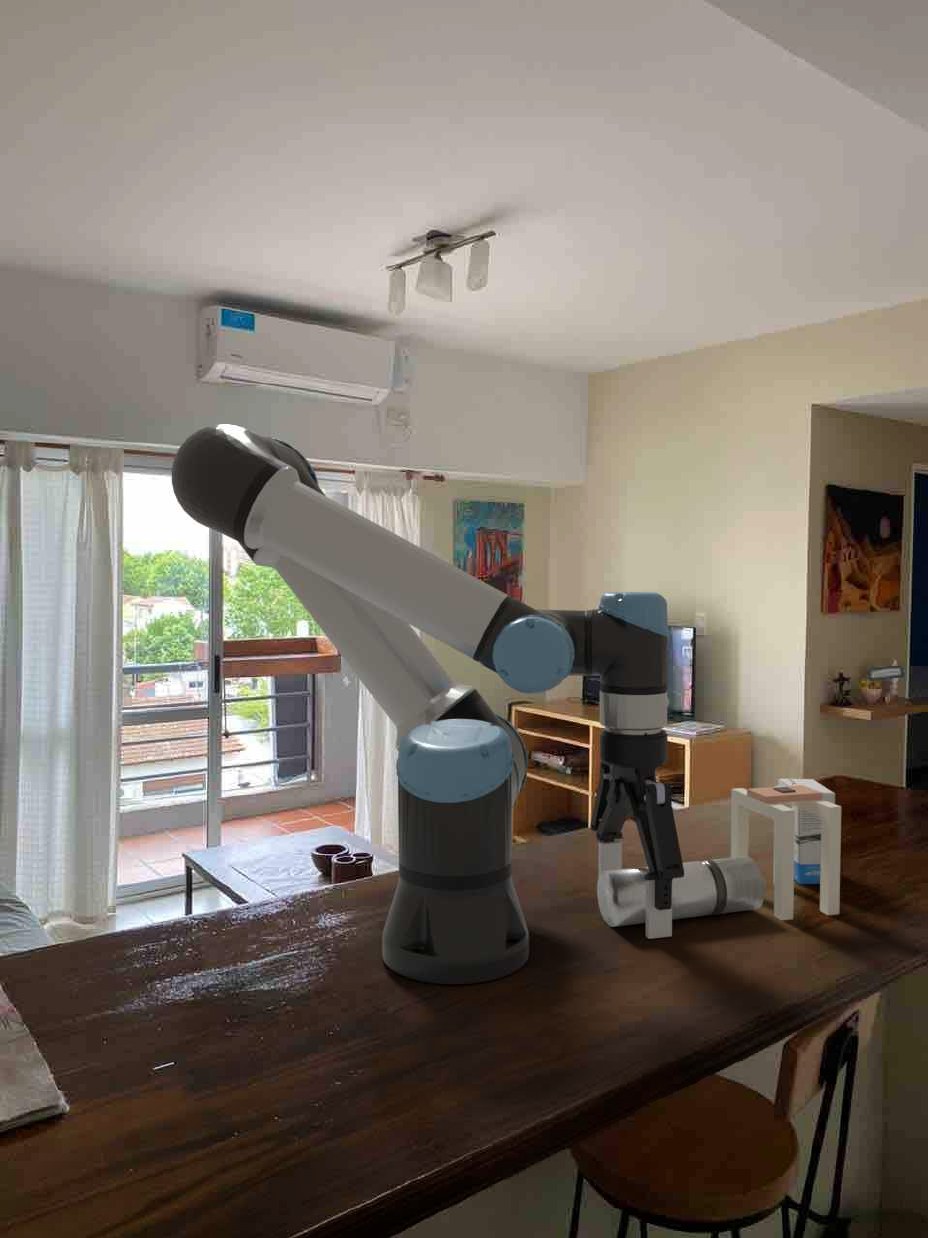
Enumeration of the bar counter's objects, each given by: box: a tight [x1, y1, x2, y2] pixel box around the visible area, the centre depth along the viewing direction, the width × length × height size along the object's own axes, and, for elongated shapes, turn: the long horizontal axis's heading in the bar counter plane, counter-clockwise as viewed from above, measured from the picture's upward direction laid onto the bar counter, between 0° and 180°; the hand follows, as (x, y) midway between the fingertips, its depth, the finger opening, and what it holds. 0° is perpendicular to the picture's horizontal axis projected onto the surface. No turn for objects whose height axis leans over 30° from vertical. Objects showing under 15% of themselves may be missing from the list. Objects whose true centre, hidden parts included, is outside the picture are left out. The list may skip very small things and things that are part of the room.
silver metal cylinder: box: [596, 855, 766, 928], centre depth 107 cm, size 18×6×6 cm, turn 106°
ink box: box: [777, 778, 836, 885], centre depth 122 cm, size 9×5×12 cm, turn 179°
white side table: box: [730, 785, 842, 921], centre depth 112 cm, size 8×11×14 cm
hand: (633, 915), depth 107 cm, fingers open, 12 cm apart
